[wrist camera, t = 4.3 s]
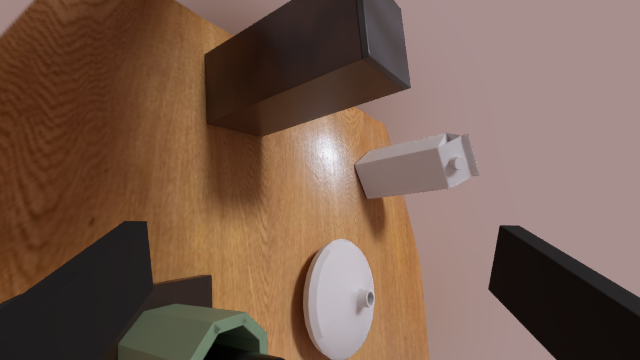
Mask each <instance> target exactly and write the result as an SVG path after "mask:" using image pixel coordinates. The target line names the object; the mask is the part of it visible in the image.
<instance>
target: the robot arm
mask: <svg viewBox="0 0 640 360" xmlns="http://www.w3.org/2000/svg"><path fill="white" fill-rule="evenodd" d="M488 289H489V290H490V291H491V293H492V294H493V295H494V296H495V297H496V298H497V299H498V300H499V301H500V302H501V303H502V304H503V305H504V306H505V307H506V308H507V309H508V310H509V311H510V312H511V313H512V314H513V315H514V316H515V317H516V318H517V319H518V320H519V322H520V323H521V324H522V325H523V326H524V327H525V328H526V329H527V330H528V331H529V332H530V333H531V334H532V335H533V336H534V337H535V338H536V339H537V340H538V341H539V342H540V343H541V344H542V345H543V346H544V347H545V348H546V349H547V350H548V351H549V353H551V355H552V356H553V357H554V358H555V359H556V360H640V298H639V297H638V296H636V295H634V294H633V293H631V292H629V291H627V290H626V289H624V288H622V287H621V286H619V285H617V284H616V283H614V282H613V281H611V280H609V279H608V278H606V277H604V276H603V275H601V274H599V273H597V272H596V271H594V270H592V269H591V268H589V267H587V266H586V265H584V264H582V263H581V262H579V261H577V260H576V259H574V258H572V257H571V256H569V255H567V254H566V253H564V252H562V251H561V250H559V249H557V248H555V247H554V246H552V245H550V244H549V243H547V242H545V241H544V240H542V239H541V238H539V237H537V236H535V235H534V234H532V233H530V232H529V231H527V230H525V229H524V228H522V227H520V226H505V225H502V226H500V227H499V233H498V239H497V244H496V250H495V255H494V261H493V266H492V272H491V277H490V283H489V288H488ZM153 290H154V289H153V279H152V269H151V259H150V250H149V240H148V230H147V221H124V222H123V223H121V224H120V225H118V226H117V227H116V228H114V229H113V230H111V231H110V232H109V233H107V234H106V235H104V236H103V237H102V238H100V239H99V240H97V241H96V242H95V243H93V244H92V245H90V246H89V247H88V248H86V249H85V250H83V251H82V252H81V253H79V254H78V255H76V256H75V257H74V258H72V259H71V260H69V261H68V262H67V263H65V264H64V265H62V266H61V267H60V268H58V269H57V270H55V271H54V272H53V273H51V274H50V275H48V276H47V277H46V278H44V279H43V280H41V281H40V282H39V283H37V284H36V285H34V286H33V287H32V288H30V289H29V290H27V291H26V292H25V293H23V294H20V295H18V296H16V297H13V298H11V299H9V300H7V301H5V302H3V303H1V304H0V360H101V358H102V357H103V356H104V354H105V353H106V352H107V351H108V349H109V348H110V347H111V345H112V344H113V343H114V341H115V340H116V339H117V337H118V336H119V335H120V333H121V332H122V331H123V329H124V328H125V327H126V325H127V324H128V323H129V321H130V320H131V319H132V318H133V316H134V315H135V314H136V312H137V311H138V310H139V308H140V307H141V306H142V304H143V303H144V302H145V300H146V299H147V298H148V296H149V295H150V294H151V292H152V291H153Z"/></svg>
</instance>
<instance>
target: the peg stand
mask: <svg viewBox="0 0 640 360" xmlns="http://www.w3.org/2000/svg"><path fill="white" fill-rule="evenodd" d="M153 289H154V290H153V291H152V292H151V294H150V295H149V296H148V298H147V299H146V300H145V302H144V303H143V304H142V306H141V307H140V308H139V310H138V311H137V312H136V314H135V315H134V316H133V318H132V319H131V320H130V321H129V323H128V324H127V325H126V327H125V328H124V329H123V331H122V332H121V333H120V335H119V336H118V337H117V339H116V340H115V341H114V343H113V344H112V345H111V347H110V348H109V349H108V351H107V352H106V353H105V354H104V356H103V357H102V358H101V360H118V343H119V342H120V341H121V339H122V338H123V337H124V336H125V334H126V333H127V332H128V331H129V329H130V328H131V327H132V326H133V324H134V323H135V322H136V321H137V319H138V318H139V317H140V315H141V314H142V313H143V312H144V311H147V310H151V309H155V308H159V307H164V306H168V305H172V304H183V305H191V306H199V307H208V308H212V277H211V275H198V276H193V277H187V278H182V279H176V280H170V281H165V282H159V283H154V284H153ZM203 360H285V359H283V358H280V357H275V356H271V355H266V354H262V353H257V352H253V351H248V350H244V349H239V348H234V347H230V346H225V345H221V344H216V343H213V344H212V345H211V347H210V349H209V350H208V352H207V354H206V355H205V357H204V359H203Z"/></svg>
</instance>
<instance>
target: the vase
mask: <svg viewBox="0 0 640 360" xmlns="http://www.w3.org/2000/svg"><path fill="white" fill-rule="evenodd" d="M374 301H375V297H374V285H373V278H372V274H371V270H370V267H369V264H368V262H367V260H366V258H365V256H364V254H363V253H362V252H361V251H360V249H359V248H358V247H357V246H356V245H354V244H353V243H351V242H350V241H349V240H344V239H338V240H335V241H332V242H330V243H328V244H326V245H325V246H324V247H322V248H321V249H320V250H319V251H318V252H317V254H316V255H315V257H314V258H313V260H312V262H311V265H310V267H309V270H308V272H307V276H306V281H305V286H304V295H303V310H304V318H305V324H306V327H307V331H308V334H309V337H310V339H311V340H312V342H313V344H314V345H315V347H316V348H317V349H318V350H319V351H320V352H321V353H323V354H324V355H325V356H327V357H328V358H329V359H331V360H346V359H348V358H350V357H351V356H352V355H353V354H354V353H355V352H356V351H358V350H359V349H360V348H361V346H362V344H363V343H364V341H365V340H366V337H367V335H368V332H369V330H370V327H371V322H372V318H373V311H374Z"/></svg>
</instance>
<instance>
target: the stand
mask: <svg viewBox="0 0 640 360" xmlns="http://www.w3.org/2000/svg"><path fill="white" fill-rule="evenodd" d="M205 73H206V105H207V124H211V125H215V126H219V127H223V128H228V129H232V130H236V131H240V132H244V133H249V134H253V135H257V136H261V137H263V136H266V135H269V134H272V133H275V132H278V131H281V130H284V129H287V128H290V127H293V126H296V125H299V124H302V123H305V122H308V121H311V120H314V119H317V118H320V117H323V116H327V115H330V114H333V113H336V112H339V111H342V110H345V109H348V108H351V107H354V106H357V105H360V104H363V103H366V102H369V101H372V100H375V99H378V98H381V97H384V96H387V95H390V94H393V93H397V92H399V91H403V90H404V89H405V90H406V89H409V88H411V86H410V78H409V70H408V62H407V54H406V47H405V39H404V31H403V23H402V16H401V9H400V8H399V6H398V5H397V4H396V3H395V1H394V0H291V1H289V2H288V3H286V4H285V5H283V6H281V7H280V8H278V9H277V10H275V11H273V12H272V13H270V14H269V15H267V16H265V17H264V18H262V19H261V20H259V21H257V22H256V23H254V24H253V25H251V26H249V27H248V28H246V29H245V30H243V31H241V32H240V33H238V34H237V35H235V36H233V37H232V38H230V39H229V40H227V41H225V42H224V43H222V44H221V45H219V46H217V47H216V48H214V49H213V50H211V51H209V52H208V53H206V54H205Z"/></svg>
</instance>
